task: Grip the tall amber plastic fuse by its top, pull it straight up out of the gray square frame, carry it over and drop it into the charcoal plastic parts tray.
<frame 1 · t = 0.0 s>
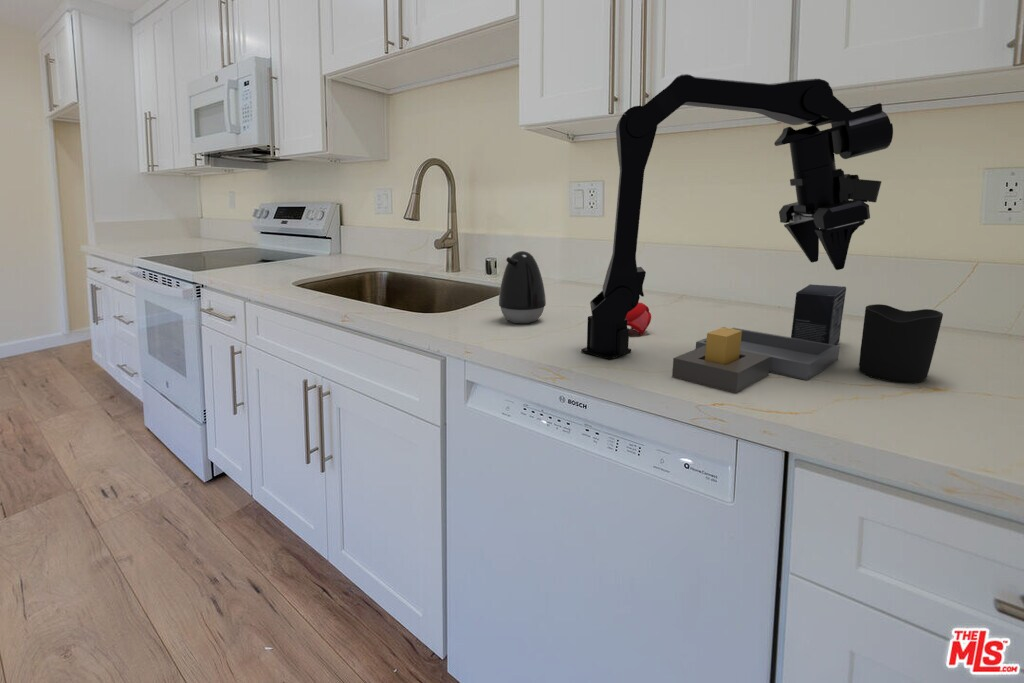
hand: (826, 265, 89), 15 cm above the counter, tool pointing down, fingers open, 9 cm apart
cap: (631, 333, 110), on the counter
pen holder: (891, 375, 84), on the counter
pump dispenser: (522, 321, 121), on the counter
gray square frame: (720, 375, 84), on the counter
parts tray: (765, 358, 93), on the counter
fuse: (720, 376, 84), resting in gray square frame
small box: (813, 346, 100), on the counter
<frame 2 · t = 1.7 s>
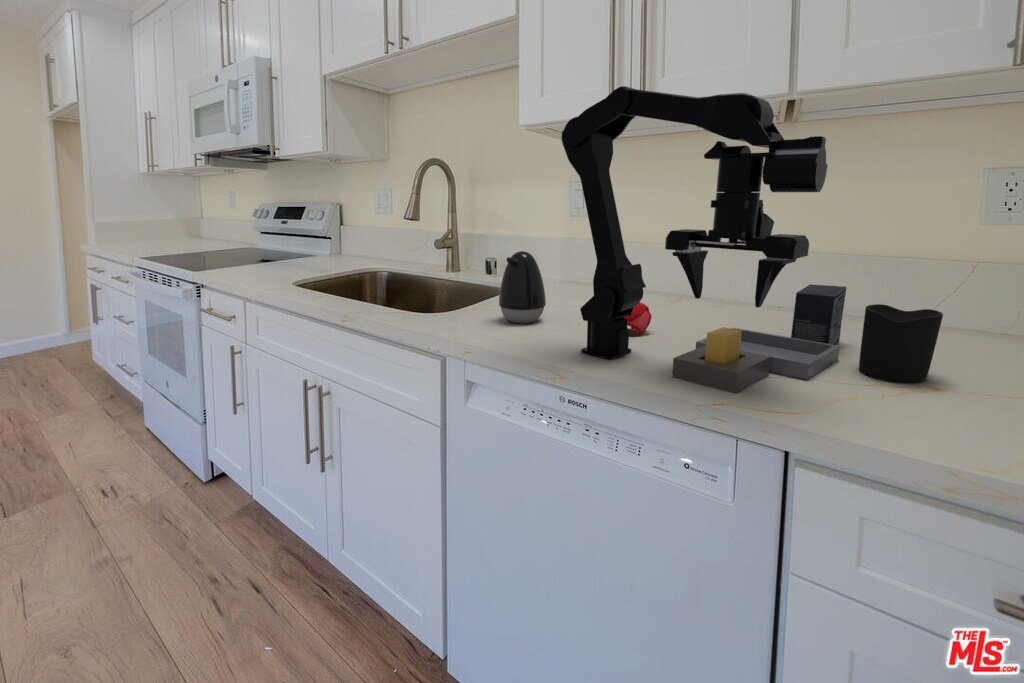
hand: (726, 302, 81), 11 cm above the counter, tool pointing down, fingers open, 9 cm apart
nothing on the counter moved.
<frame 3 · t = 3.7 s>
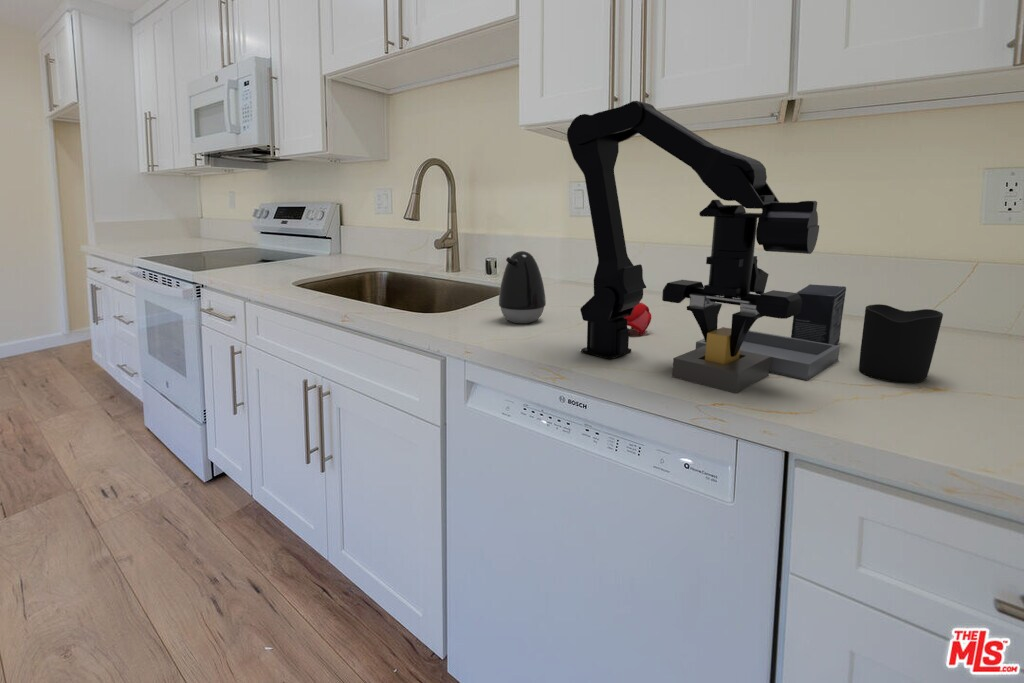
hand: (722, 353, 83), 4 cm above the counter, tool pointing down, fingers closed on fuse, 3 cm apart
fuse: (720, 376, 84), resting in gray square frame, touching gripper
everything else where it was.
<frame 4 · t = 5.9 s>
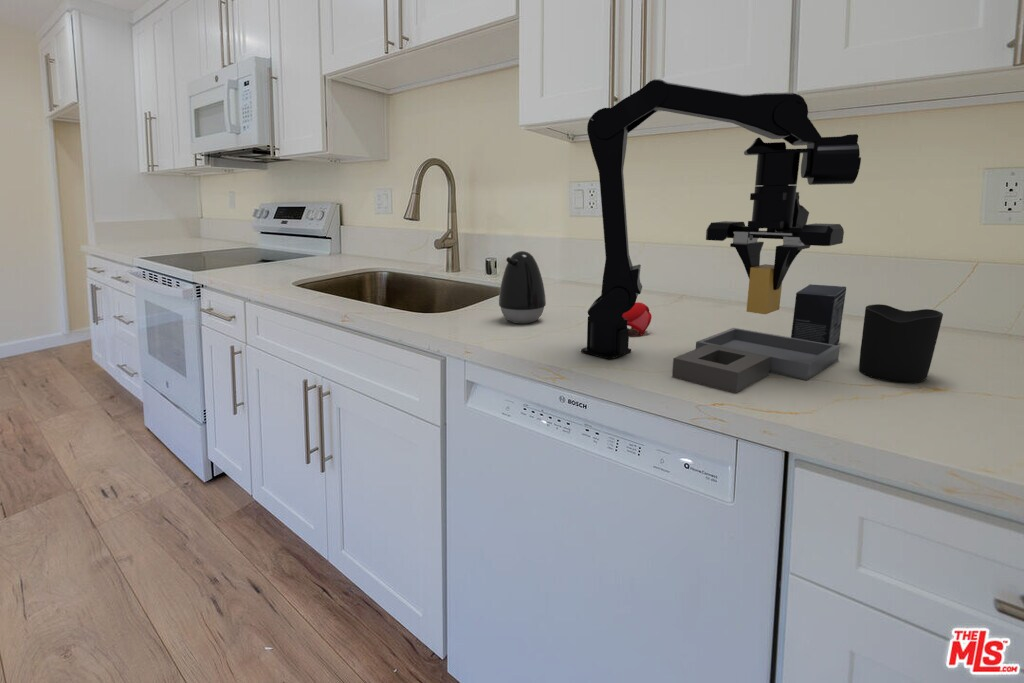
hand: (765, 288, 87), 12 cm above the counter, tool pointing down, fingers closed on fuse, 3 cm apart
fuse: (762, 310, 88), point 9 cm above the counter, touching gripper
everything else where it was.
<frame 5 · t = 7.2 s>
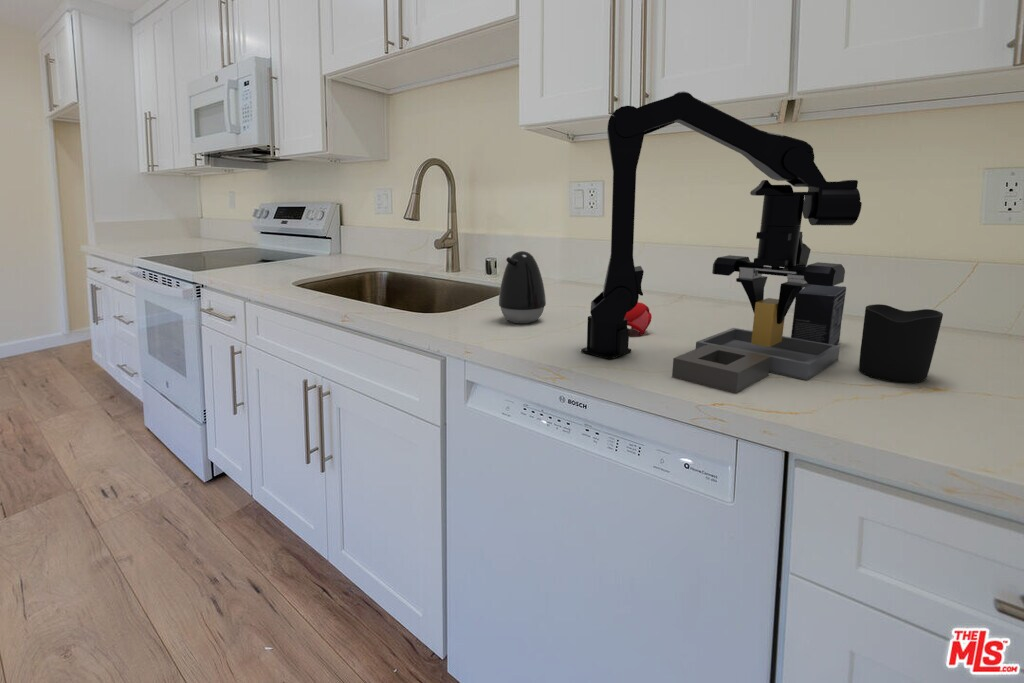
hand: (768, 321, 91), 6 cm above the counter, tool pointing down, fingers closed on fuse, 3 cm apart
fuse: (766, 342, 92), point 3 cm above the counter, touching gripper
everything else where it was.
when the fingers open (5 cm above the counter, at t = 8.1 s): fuse stays where it is, resting on parts tray.
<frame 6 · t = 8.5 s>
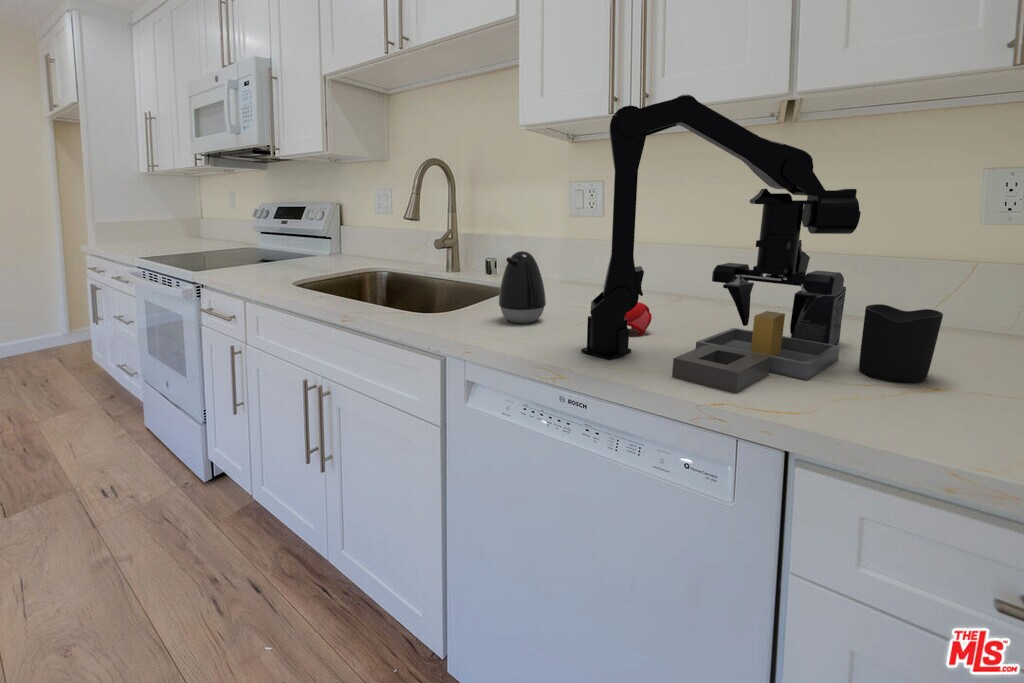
hand: (768, 329, 91), 5 cm above the counter, tool pointing down, fingers open, 7 cm apart
fuse: (765, 355, 92), resting on parts tray
everything else where it was.
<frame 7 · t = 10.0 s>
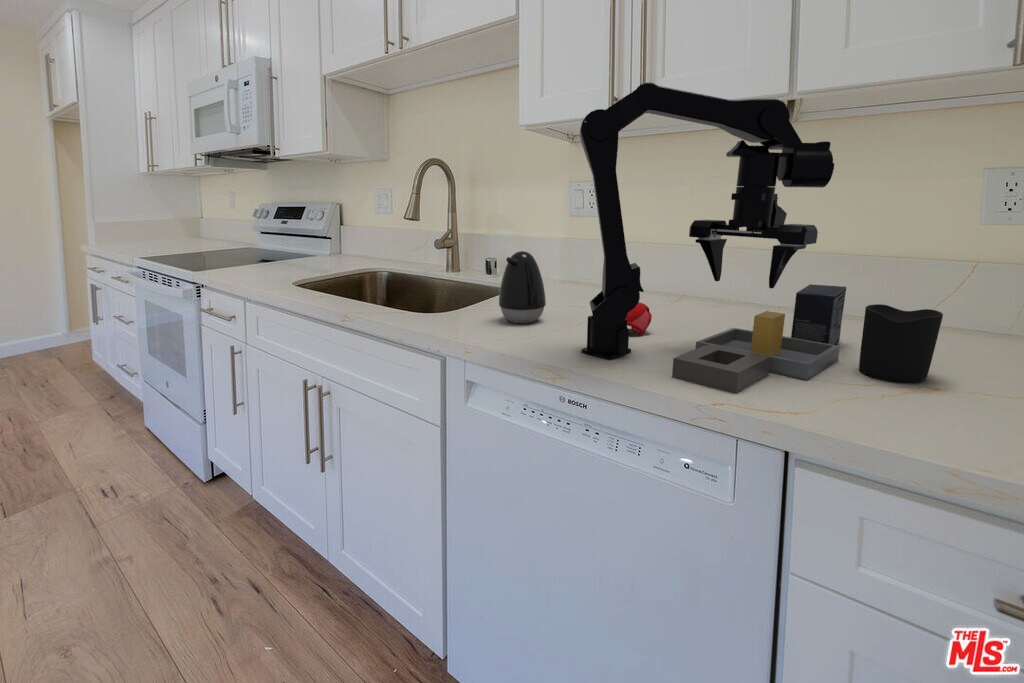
hand: (743, 284, 91), 12 cm above the counter, tool pointing down, fingers open, 9 cm apart
nothing on the counter moved.
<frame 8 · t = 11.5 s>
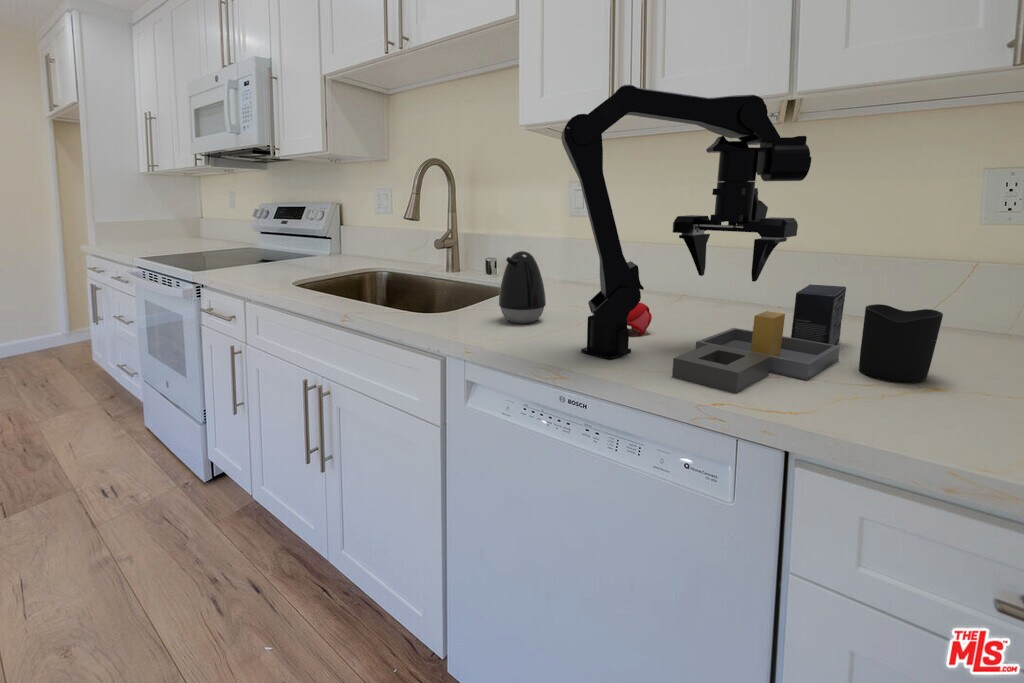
hand: (727, 278, 93), 13 cm above the counter, tool pointing down, fingers open, 9 cm apart
nothing on the counter moved.
at the end: fuse inside the target area on the parts tray (0.1 cm from its centre), point 0.5 cm above the parts tray's base; the gripper is holding nothing; fuse moved 14.0 cm from its start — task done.
